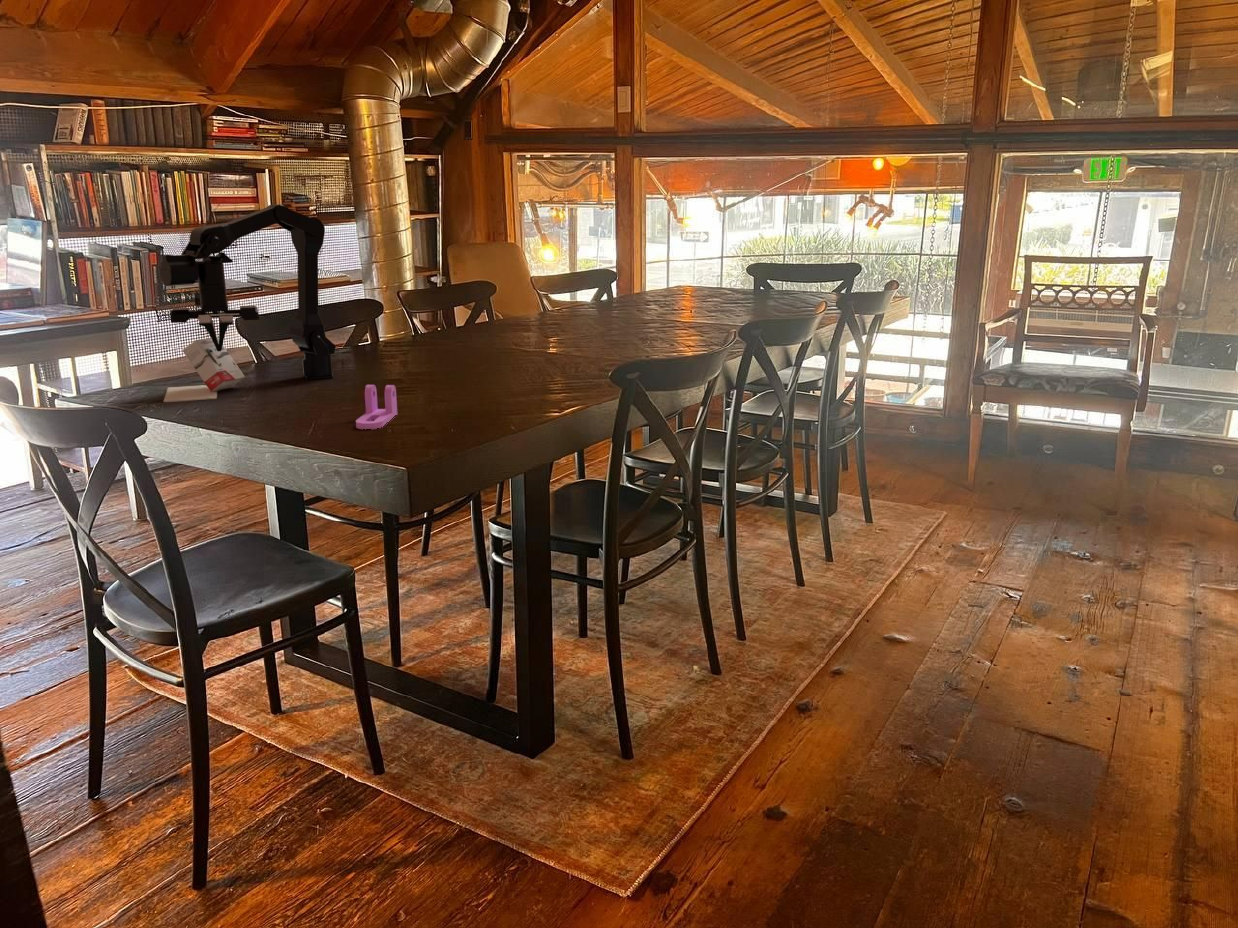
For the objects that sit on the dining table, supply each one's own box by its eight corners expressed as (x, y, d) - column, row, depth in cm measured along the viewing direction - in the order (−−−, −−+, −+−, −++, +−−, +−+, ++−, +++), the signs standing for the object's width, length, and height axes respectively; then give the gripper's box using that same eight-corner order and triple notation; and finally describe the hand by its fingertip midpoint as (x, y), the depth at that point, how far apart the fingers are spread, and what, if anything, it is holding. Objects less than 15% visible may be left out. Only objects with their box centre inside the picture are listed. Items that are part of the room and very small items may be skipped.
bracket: (371, 415, 199) (369, 383, 197) (397, 415, 199) (395, 383, 197) (352, 430, 186) (350, 396, 184) (380, 430, 186) (377, 396, 184)
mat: (217, 385, 227) (217, 384, 227) (216, 398, 213) (216, 397, 212) (168, 388, 223) (168, 387, 223) (163, 402, 209) (163, 401, 209)
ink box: (224, 381, 216) (194, 338, 215) (210, 392, 217) (180, 350, 216) (246, 376, 224) (217, 335, 223) (232, 387, 225) (203, 346, 224)
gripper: (254, 279, 224) (260, 344, 228) (169, 281, 217) (177, 348, 221) (255, 283, 214) (262, 351, 218) (166, 285, 207) (174, 355, 211)
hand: (219, 351), depth 217 cm, fingers closed
